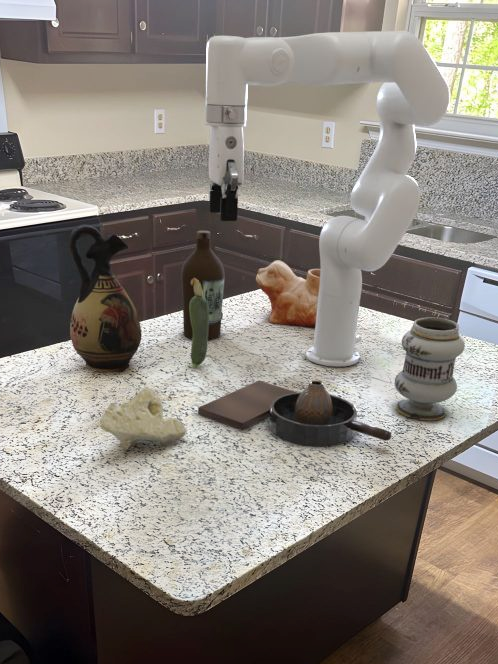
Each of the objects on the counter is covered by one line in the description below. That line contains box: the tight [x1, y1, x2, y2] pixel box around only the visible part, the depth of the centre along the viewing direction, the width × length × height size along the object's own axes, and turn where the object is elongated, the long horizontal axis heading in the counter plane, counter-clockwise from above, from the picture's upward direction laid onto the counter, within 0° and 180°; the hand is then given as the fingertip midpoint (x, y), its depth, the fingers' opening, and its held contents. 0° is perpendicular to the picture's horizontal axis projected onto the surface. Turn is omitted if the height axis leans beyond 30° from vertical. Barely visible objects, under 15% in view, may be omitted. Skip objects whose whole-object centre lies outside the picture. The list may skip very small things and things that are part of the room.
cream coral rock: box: [99, 386, 187, 451], centre depth 128 cm, size 15×7×15 cm
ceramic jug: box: [67, 224, 143, 374], centre depth 154 cm, size 17×15×30 cm
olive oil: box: [180, 230, 226, 341], centre depth 178 cm, size 11×11×25 cm
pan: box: [268, 391, 358, 447], centre depth 136 cm, size 16×16×4 cm
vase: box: [295, 380, 332, 425], centre depth 135 cm, size 7×7×9 cm
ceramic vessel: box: [255, 259, 321, 329], centre depth 194 cm, size 14×26×15 cm, turn 75°
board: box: [197, 380, 297, 431], centre depth 144 cm, size 20×11×2 cm, turn 141°
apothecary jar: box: [394, 316, 466, 421], centre depth 141 cm, size 12×12×18 cm
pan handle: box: [349, 420, 392, 442], centre depth 129 cm, size 2×8×2 cm, turn 51°
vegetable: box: [189, 278, 209, 368], centre depth 158 cm, size 4×4×20 cm
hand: (222, 216), depth 140 cm, fingers open, 9 cm apart
